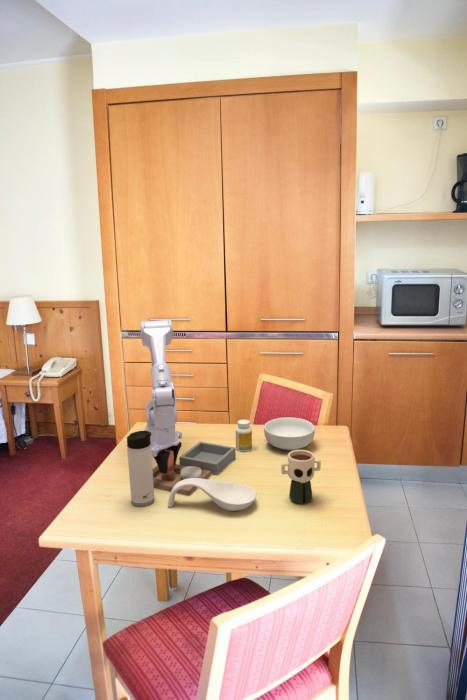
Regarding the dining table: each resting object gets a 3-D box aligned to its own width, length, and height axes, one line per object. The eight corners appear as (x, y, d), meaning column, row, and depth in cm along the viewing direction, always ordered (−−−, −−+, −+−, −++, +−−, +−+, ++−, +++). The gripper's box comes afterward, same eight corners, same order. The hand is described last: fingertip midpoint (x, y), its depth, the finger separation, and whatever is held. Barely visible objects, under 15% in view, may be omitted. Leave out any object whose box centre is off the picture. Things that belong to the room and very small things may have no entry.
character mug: (284, 508, 142) (284, 462, 139) (278, 494, 149) (277, 451, 146) (324, 503, 144) (325, 458, 141) (315, 490, 150) (316, 447, 147)
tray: (179, 467, 167) (179, 457, 166) (200, 451, 178) (199, 441, 177) (217, 475, 161) (216, 464, 160) (235, 457, 172) (235, 447, 171)
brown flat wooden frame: (138, 484, 157) (137, 471, 156) (163, 465, 168) (162, 453, 167) (189, 495, 149) (188, 482, 148) (211, 475, 161) (210, 463, 160)
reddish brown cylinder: (158, 480, 159) (157, 451, 157) (166, 474, 162) (164, 446, 160) (170, 482, 157) (168, 454, 155) (177, 476, 161) (175, 448, 158)
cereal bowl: (253, 445, 181) (253, 426, 180) (286, 432, 192) (286, 413, 190) (291, 461, 169) (291, 440, 167) (324, 445, 180) (325, 426, 178)
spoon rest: (256, 494, 150) (256, 471, 148) (256, 517, 138) (255, 492, 136) (172, 494, 151) (171, 470, 149) (165, 516, 140) (163, 491, 138)
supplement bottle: (232, 448, 179) (232, 421, 177) (244, 444, 183) (244, 417, 180) (243, 453, 175) (242, 425, 173) (255, 448, 179) (255, 421, 176)
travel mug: (151, 508, 143) (146, 438, 139) (127, 505, 145) (122, 436, 140) (158, 496, 149) (154, 429, 145) (136, 494, 151) (131, 427, 146)
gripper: (163, 437, 148) (165, 482, 151) (189, 419, 160) (191, 461, 164) (141, 433, 151) (144, 477, 154) (169, 416, 163) (171, 457, 167)
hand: (167, 469), depth 159 cm, fingers closed on reddish brown cylinder, 4 cm apart
